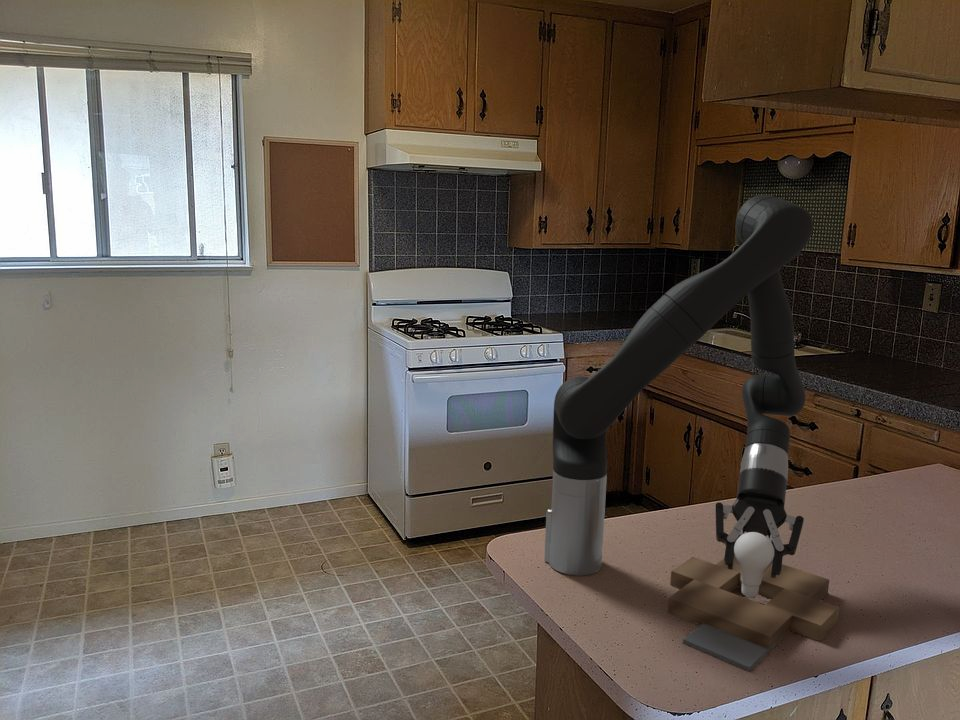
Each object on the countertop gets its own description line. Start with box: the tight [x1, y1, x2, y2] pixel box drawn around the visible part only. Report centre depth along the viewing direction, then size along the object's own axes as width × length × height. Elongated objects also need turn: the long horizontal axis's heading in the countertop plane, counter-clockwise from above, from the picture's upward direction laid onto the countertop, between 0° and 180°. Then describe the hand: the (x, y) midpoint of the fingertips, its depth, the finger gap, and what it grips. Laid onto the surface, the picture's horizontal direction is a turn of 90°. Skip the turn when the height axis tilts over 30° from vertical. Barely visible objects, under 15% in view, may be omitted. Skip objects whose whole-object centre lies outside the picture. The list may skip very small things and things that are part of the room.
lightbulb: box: [734, 532, 774, 599], centre depth 124 cm, size 6×6×11 cm
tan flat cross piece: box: [667, 555, 839, 649], centre depth 125 cm, size 24×24×2 cm
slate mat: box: [682, 623, 777, 672], centre depth 113 cm, size 10×9×1 cm
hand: (751, 571), depth 122 cm, fingers closed on lightbulb, 6 cm apart
